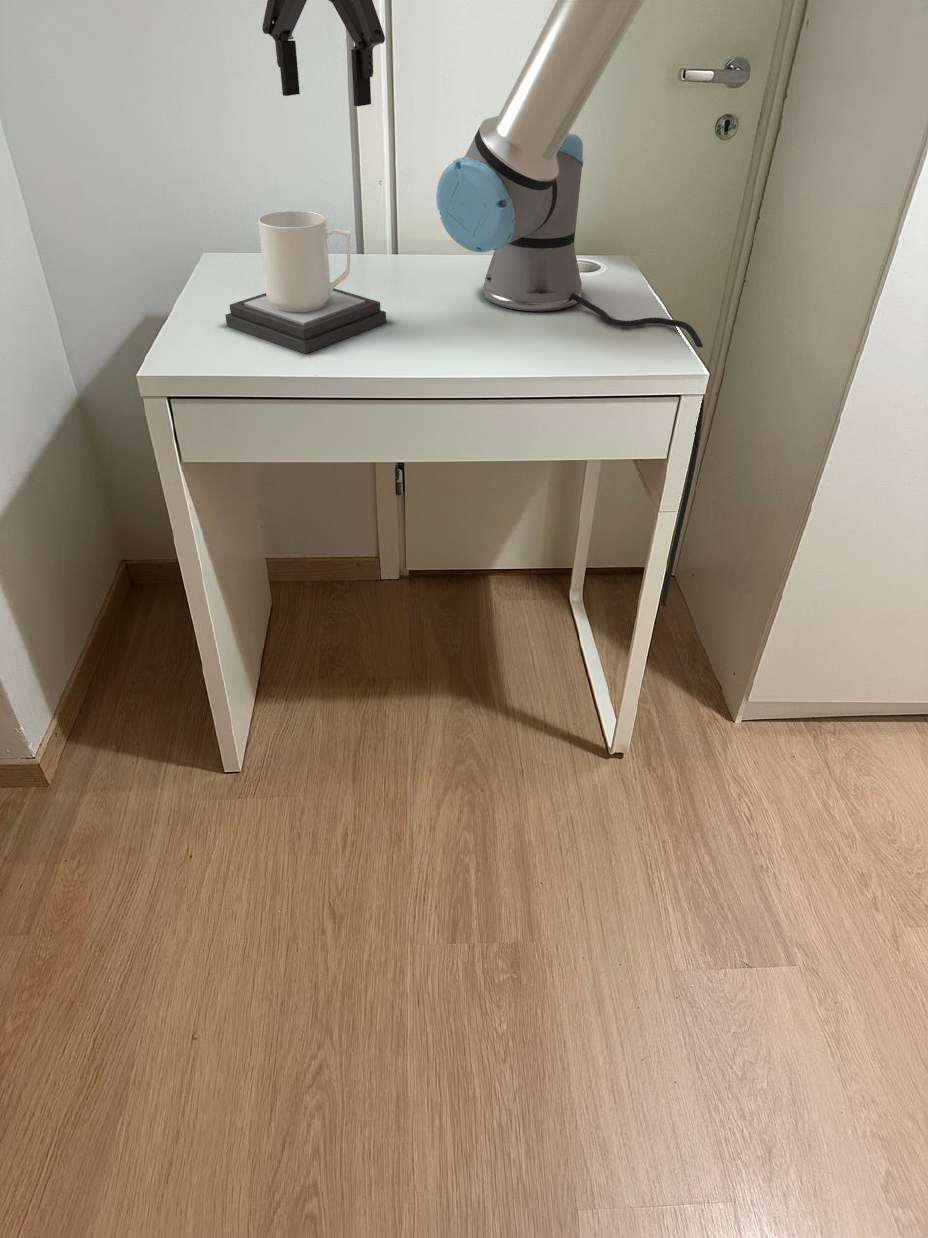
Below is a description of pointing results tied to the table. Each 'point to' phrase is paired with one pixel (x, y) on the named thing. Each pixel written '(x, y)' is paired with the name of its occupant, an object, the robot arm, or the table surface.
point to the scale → (309, 334)
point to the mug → (298, 259)
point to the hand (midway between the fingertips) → (326, 99)
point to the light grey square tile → (332, 307)
